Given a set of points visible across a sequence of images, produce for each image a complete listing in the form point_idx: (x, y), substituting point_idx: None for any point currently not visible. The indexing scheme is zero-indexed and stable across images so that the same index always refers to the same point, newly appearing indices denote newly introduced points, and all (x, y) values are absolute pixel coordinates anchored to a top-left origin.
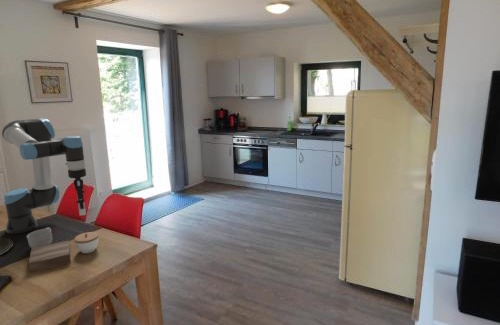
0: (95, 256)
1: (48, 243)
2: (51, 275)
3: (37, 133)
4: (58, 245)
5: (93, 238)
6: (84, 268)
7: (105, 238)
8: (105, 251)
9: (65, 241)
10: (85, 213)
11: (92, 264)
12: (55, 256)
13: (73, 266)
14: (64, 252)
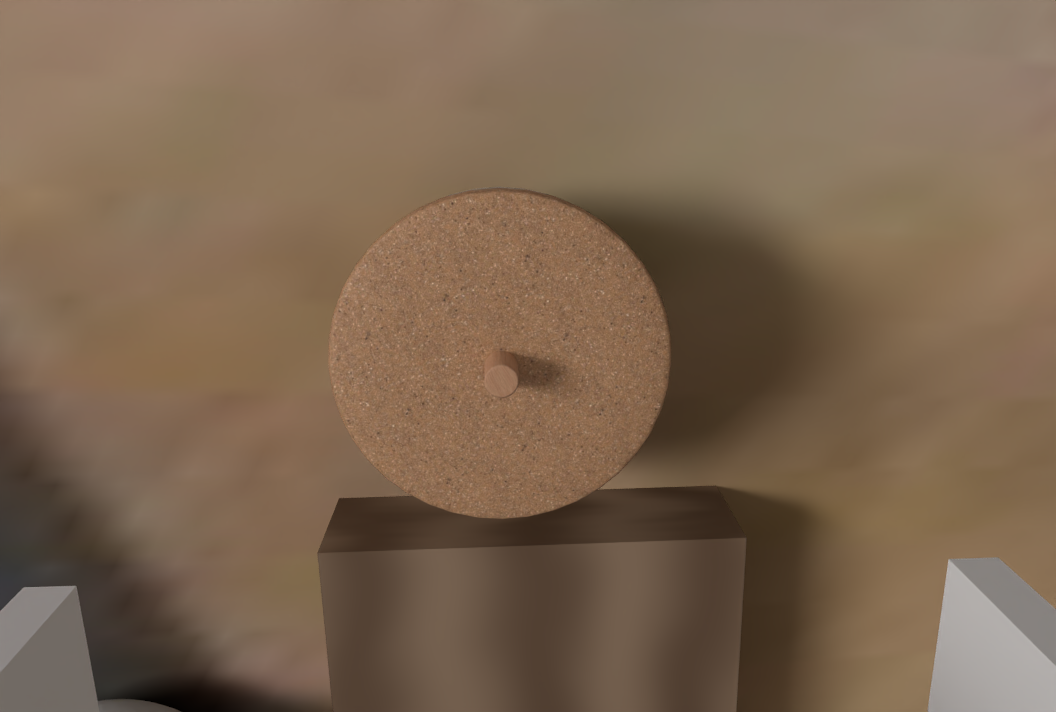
0: (714, 235)
1: None
2: (876, 633)
3: None
4: (421, 656)
5: (637, 267)
6: (933, 358)
7: (214, 70)
8: (643, 108)
9: (333, 589)
10: (1017, 590)
11: (895, 277)
12: (719, 667)
13: (817, 459)
14: (670, 588)
